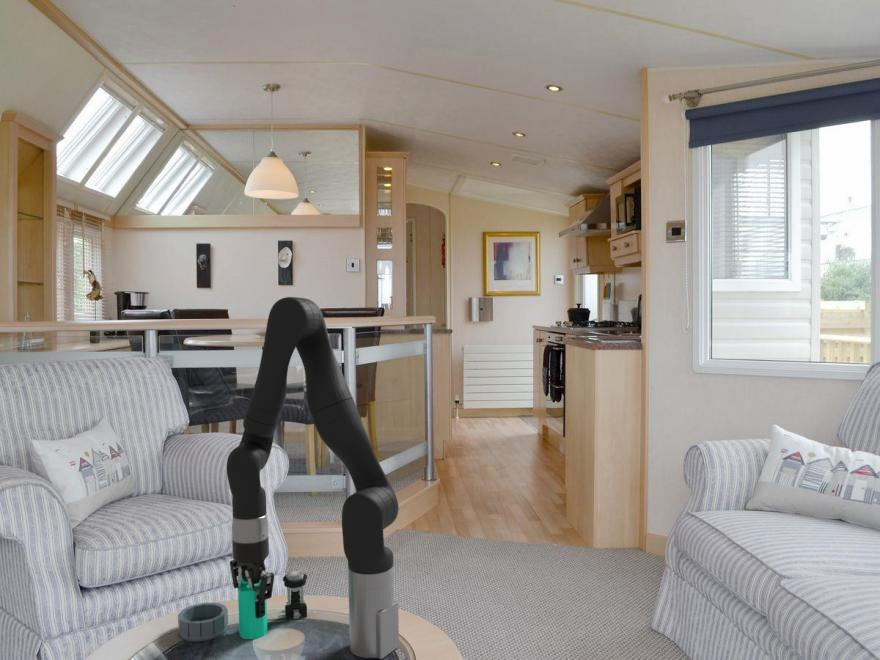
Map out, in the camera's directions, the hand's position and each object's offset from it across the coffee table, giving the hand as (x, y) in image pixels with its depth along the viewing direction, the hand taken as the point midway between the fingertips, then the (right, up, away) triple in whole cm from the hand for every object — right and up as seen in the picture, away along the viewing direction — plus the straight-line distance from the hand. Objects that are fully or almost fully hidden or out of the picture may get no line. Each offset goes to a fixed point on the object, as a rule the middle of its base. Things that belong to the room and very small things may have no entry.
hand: (252, 612), depth 162 cm
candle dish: (-11, -4, +2) cm, 12 cm away
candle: (0, -5, 0) cm, 5 cm away
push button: (+7, -4, +8) cm, 11 cm away
